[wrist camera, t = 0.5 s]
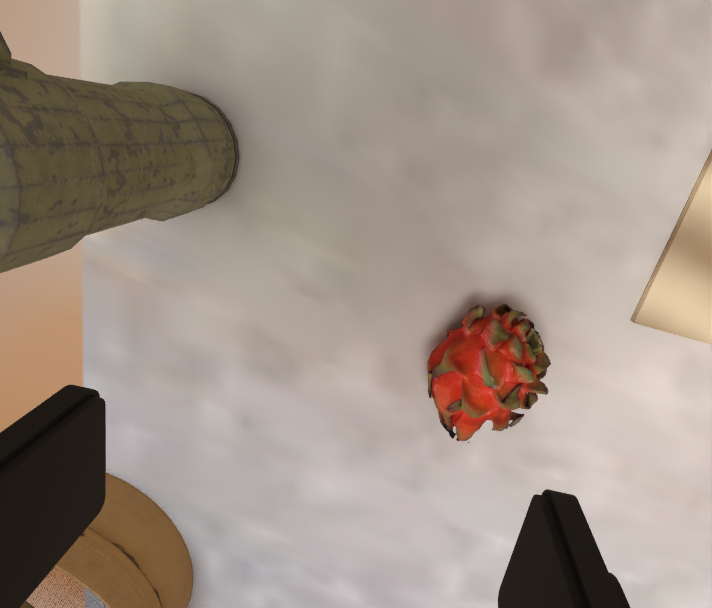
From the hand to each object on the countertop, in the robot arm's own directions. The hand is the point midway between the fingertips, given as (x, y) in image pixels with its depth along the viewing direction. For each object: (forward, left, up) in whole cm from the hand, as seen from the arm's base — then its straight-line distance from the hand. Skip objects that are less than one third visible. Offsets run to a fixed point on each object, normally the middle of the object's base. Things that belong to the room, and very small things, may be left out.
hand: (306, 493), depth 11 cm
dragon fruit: (+8, +10, -31) cm, 33 cm away
